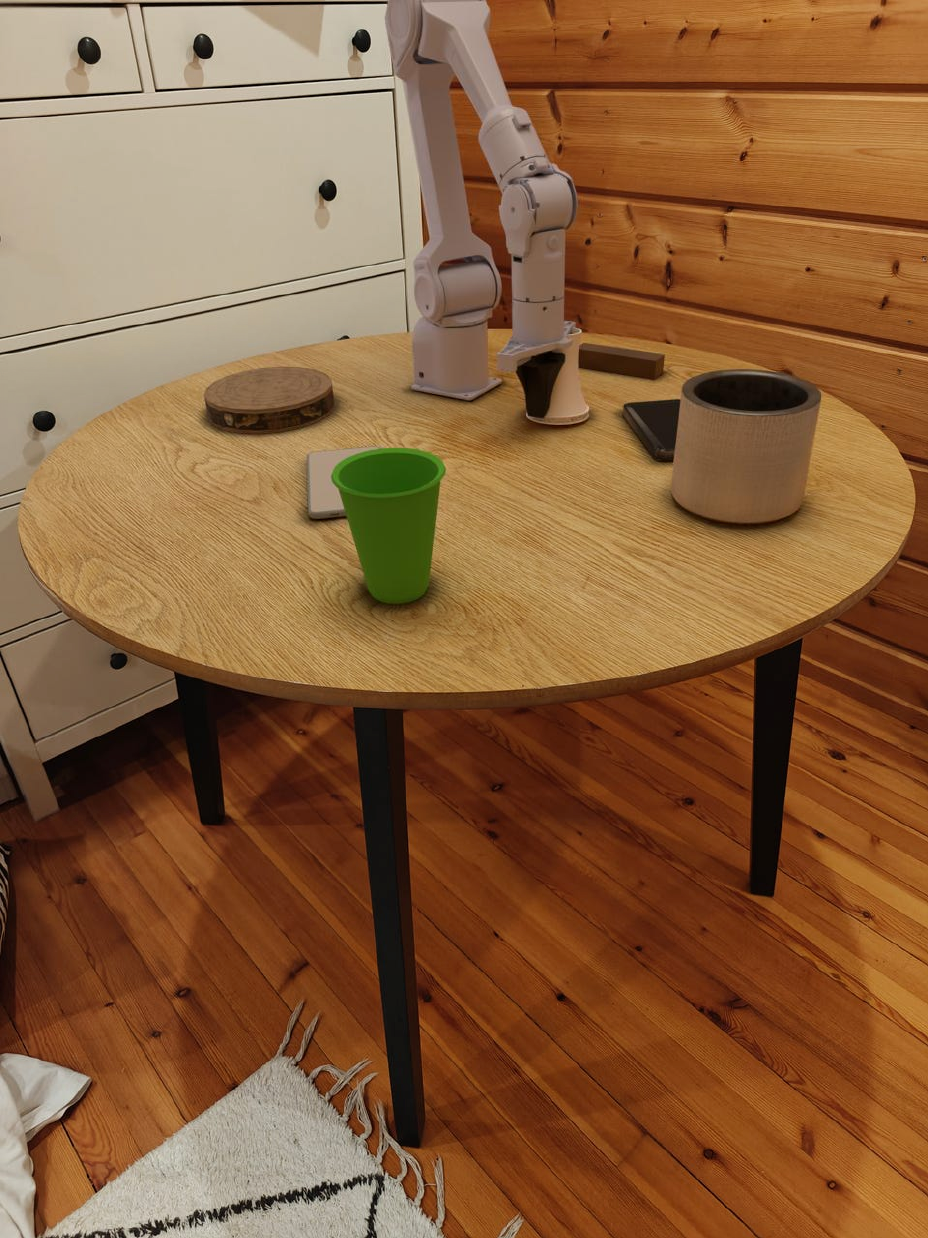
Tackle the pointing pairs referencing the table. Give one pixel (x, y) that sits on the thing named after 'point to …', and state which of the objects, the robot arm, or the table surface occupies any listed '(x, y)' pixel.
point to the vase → (567, 389)
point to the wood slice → (269, 399)
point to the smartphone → (326, 481)
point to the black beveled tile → (655, 425)
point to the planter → (744, 445)
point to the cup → (392, 517)
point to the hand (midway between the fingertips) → (537, 415)
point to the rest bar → (621, 360)
